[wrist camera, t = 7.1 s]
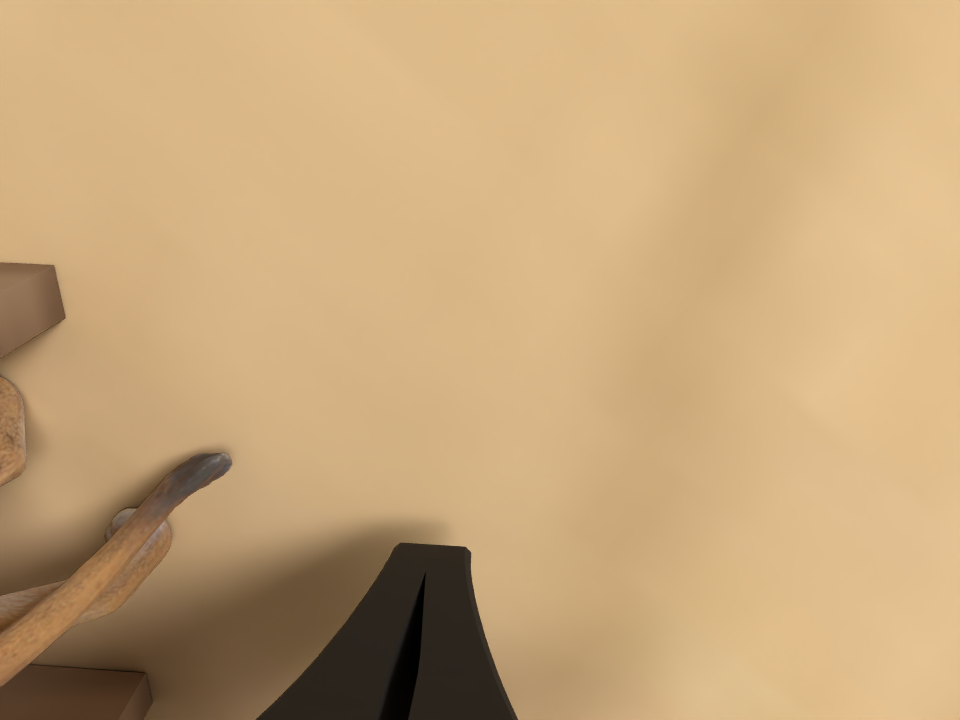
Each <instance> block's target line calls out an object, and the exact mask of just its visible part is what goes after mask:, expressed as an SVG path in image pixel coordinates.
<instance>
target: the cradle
mask: <svg viewBox="0 0 960 720" xmlns="http://www.w3.org/2000/svg"><path fill="white" fill-rule="evenodd" d="M64 318H65V314H64V309H63V305H62V300H61V296H60V292H59V287H58V283H57V278H56V274H55V269H54V265H39V264H19V263H0V358H2V357H3V356H5V355H7V354H8V353H10V352H11V351H13V350H15V349H16V348H18V347H19V346H21V345H23V344H24V343H26V342H27V341H29V340H31V339H32V338H34V337H35V336H37V335H39V334H40V333H42V332H43V331H45V330H47V329H48V328H50V327H51V326H53V325H55V324H56V323H58V322H59V321H61V320H63V319H64ZM151 705H152V699H151V695H150V690H149V686H148V682H147V677H146V673H136V672H122V671H108V670H94V669H80V668H66V667H52V666H38V665H27V666H26V667H25V668H23V669H22V670H21V671H20V672H19V673H17V674H16V675H15V676H14V677H13V678H12V679H10V680H9V681H8V682H7V683H5V684H4V685H3V686H1V687H0V720H143V719H144V717H145V716H146V714H147V712H148V710H149V708H150V706H151Z"/></svg>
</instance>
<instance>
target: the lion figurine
mask: <svg viewBox="0 0 960 720" xmlns="http://www.w3.org/2000/svg"><path fill="white" fill-rule="evenodd" d="M26 461H27V454H26V443H25V427H24V407H23V401H22V398H21V396H20V394H19V392H18V390H17V389H16V388H15V387H14V386H13V385H12V384H11V383H10V382H8V381H7V380H6V379H4V378H2V377H0V486H2V485H4V484H6V483H7V482H9V481H11V480H13V479H14V478H16V477H18V476H20V474H21V473H22V472H23V471H24V469H25V466H26ZM231 465H232V460H231V458H230V456H229V455H228V454H227V453H216V454H199V455H197V456H194V457H192V458H191V459H190V460H188V461H187V462H185V463H184V464H182V465H180V466H178V467H177V468H176V469H174V470H173V471H172V472H171V473H170V474H168V475H167V476H166V477H165V478H164V479H163V480H162V481H161V483H160V484H159V485H158V486H157V488H156V489H155V490H154V491H153V492H152V493H151V494H150V495H149V496H148V497H147V498H146V499H145V500H144V501H143V503H142V504H141V505H140V506H139V507H138V508H137V509H132V508H127V509H125V510H123V511H121V512H119V513H118V514H117V515H116V516H115V517H114V518H113V519H112V521H111V524H110V525H109V526H108V528H107V529H106V533H105V540H106V542H107V543H106V544H105V545H104V546H103V547H102V548H101V549H100V550H99V551H97V552H96V553H95V554H94V555H93V556H92V557H91V558H90V559H88V560H87V561H86V562H85V563H84V564H83V565H82V566H81V567H80V568H79V569H78V570H77V571H76V572H74V573H73V574H72V575H71V576H70V577H69V578H68V579H66V580H63V581H60V582H56V583H51V584H47V585H43V586H38V587H34V588H30V589H26V590H23V591H19V592H14V593H9V594H5V595H1V596H0V687H1V686H3V685H4V684H5V683H7V682H8V681H9V680H10V679H12V678H13V677H14V676H15V675H16V674H17V673H19V672H20V671H21V670H22V669H23V668H25V667H26V666H27V665H28V664H29V663H31V662H32V661H33V660H34V659H35V658H37V657H38V656H39V655H40V654H41V653H42V652H43V651H45V650H46V649H47V648H48V647H49V646H50V645H51V644H52V643H53V642H54V641H56V640H57V639H58V638H59V637H60V636H61V635H62V634H63V633H64V632H65V631H67V630H68V629H69V628H70V627H72V626H74V625H77V624H79V623H83V622H86V621H89V620H92V619H96V618H99V617H102V616H105V615H107V614H109V613H112V612H113V611H115V610H116V609H117V608H119V607H120V606H121V605H122V604H123V603H124V602H125V601H126V600H127V599H128V598H129V597H130V596H131V595H132V594H133V593H134V592H135V591H136V589H137V588H138V587H139V586H140V584H141V583H142V582H143V581H144V579H145V578H146V577H147V576H148V575H149V574H150V573H151V572H152V571H153V570H154V568H155V567H156V566H157V565H158V564H159V563H160V562H161V561H162V559H163V558H164V556H165V555H166V554H167V552H168V550H169V549H170V546H171V541H172V536H171V532H170V529H169V526H168V524H167V523H166V521H165V519H166V518H167V517H168V516H169V514H170V513H171V512H172V511H173V509H174V508H175V507H176V506H178V505H179V504H180V503H182V502H183V501H184V500H185V499H186V498H187V497H188V496H190V495H191V494H193V493H194V492H196V491H197V490H199V489H201V488H203V487H205V486H207V485H209V484H210V483H211V482H212V481H214V480H216V479H218V478H219V477H221V476H223V475H224V474H225V473H226V472H227V471H228V470H229V469H230V468H231Z"/></svg>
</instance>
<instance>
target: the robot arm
mask: <svg viewBox="0 0 960 720" xmlns="http://www.w3.org/2000/svg"><path fill="white" fill-rule="evenodd" d="M256 720H518V719H517V716H516V714H515V712H514V710H513V708H512V705H511V703H510V701H509V699H508V697H507V694H506V692H505V689H504V687H503V685H502V682H501V679H500V677H499V674H498V672H497V669H496V666H495V664H494V661H493V658H492V655H491V653H490V649H489V646H488V643H487V640H486V637H485V634H484V630H483V627H482V623H481V619H480V616H479V612H478V608H477V604H476V600H475V594H474V589H473V584H472V577H471V552H470V551H469V550H468V549H467V548H466V547H461V546H445V545H429V544H413V543H400V544H398V545H397V546H396V547H395V548H394V550H393V552H392V554H391V555H390V557H389V559H388V561H387V562H386V564H385V566H384V567H383V569H382V571H381V572H380V574H379V576H378V577H377V579H376V580H375V582H374V583H373V585H372V586H371V588H370V589H369V591H368V592H367V594H366V595H365V596H364V598H363V599H362V601H361V602H360V603H359V605H358V606H357V607H356V609H355V610H354V612H353V613H352V614H351V616H350V617H349V618H348V620H347V621H346V622H345V624H344V625H343V626H342V628H341V629H340V630H339V631H338V633H337V634H336V635H335V636H334V637H333V639H332V640H331V641H330V642H329V643H328V645H327V646H326V647H325V648H324V650H323V651H322V652H321V653H320V654H319V656H318V657H317V658H316V659H315V660H314V661H313V662H312V664H311V665H310V666H309V667H308V668H307V669H306V670H305V671H304V672H303V673H302V675H301V676H300V677H299V678H298V679H297V680H296V681H295V682H294V683H293V684H292V685H291V686H290V687H289V688H288V689H287V690H286V691H285V692H284V693H283V694H282V695H281V696H280V697H279V698H278V699H277V700H276V701H275V702H274V703H273V704H272V705H271V706H270V707H269V708H268V709H267V710H265V711H264V712H263V713H262V714H261V715H260V716H259V717H258V718H257V719H256Z"/></svg>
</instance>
